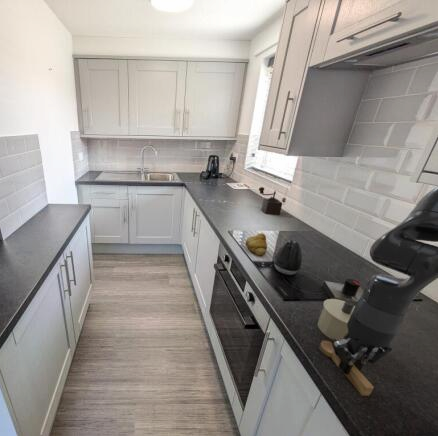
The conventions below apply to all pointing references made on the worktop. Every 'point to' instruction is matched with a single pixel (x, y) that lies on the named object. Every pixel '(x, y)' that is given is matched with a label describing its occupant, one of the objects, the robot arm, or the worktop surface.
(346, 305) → the pot lid
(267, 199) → the manual coffee grinder
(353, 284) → the knob
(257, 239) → the bread roll
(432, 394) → the worktop surface
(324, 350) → the spoon
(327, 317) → the pot
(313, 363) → the worktop surface
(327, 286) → the grey flat piece
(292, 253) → the dark grey egg shape
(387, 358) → the worktop surface
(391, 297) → the robot arm
